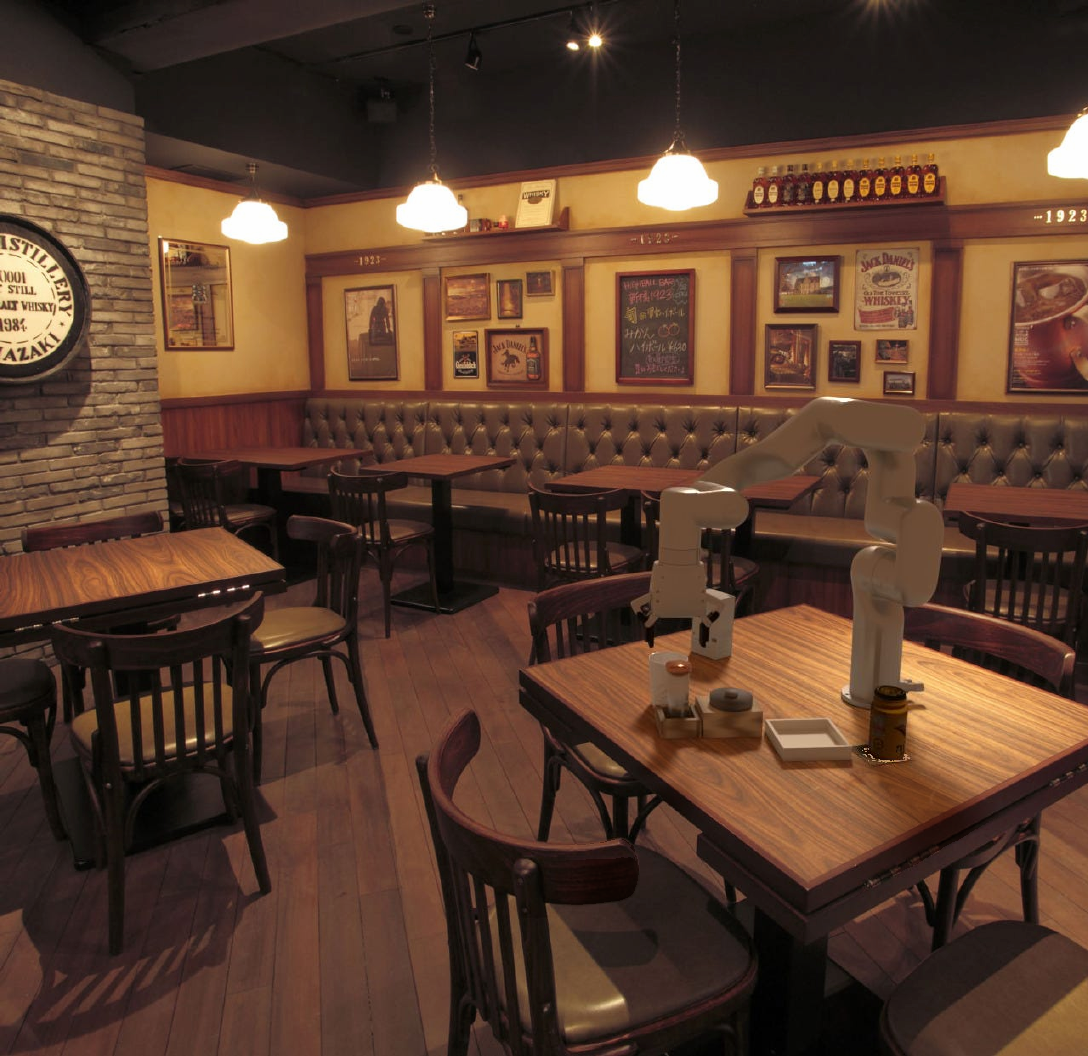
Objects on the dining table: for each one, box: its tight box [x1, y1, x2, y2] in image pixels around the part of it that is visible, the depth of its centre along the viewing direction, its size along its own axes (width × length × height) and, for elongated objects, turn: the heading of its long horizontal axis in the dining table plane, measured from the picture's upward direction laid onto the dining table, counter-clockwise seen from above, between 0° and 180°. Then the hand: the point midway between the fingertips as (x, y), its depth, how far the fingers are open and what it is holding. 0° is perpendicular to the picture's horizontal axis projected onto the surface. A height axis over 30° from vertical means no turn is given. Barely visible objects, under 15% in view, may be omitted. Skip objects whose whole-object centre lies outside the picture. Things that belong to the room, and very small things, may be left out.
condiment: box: [851, 685, 916, 766], centre depth 152 cm, size 7×8×12 cm
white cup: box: [648, 650, 689, 708], centre depth 175 cm, size 8×8×10 cm
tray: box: [764, 717, 853, 762], centre depth 157 cm, size 12×12×2 cm
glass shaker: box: [666, 660, 693, 719], centre depth 163 cm, size 5×5×13 cm
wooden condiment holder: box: [654, 686, 764, 740], centre depth 164 cm, size 19×8×7 cm, turn 91°
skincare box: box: [690, 588, 736, 661], centre depth 204 cm, size 8×6×15 cm
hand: (676, 645), depth 161 cm, fingers open, 9 cm apart
